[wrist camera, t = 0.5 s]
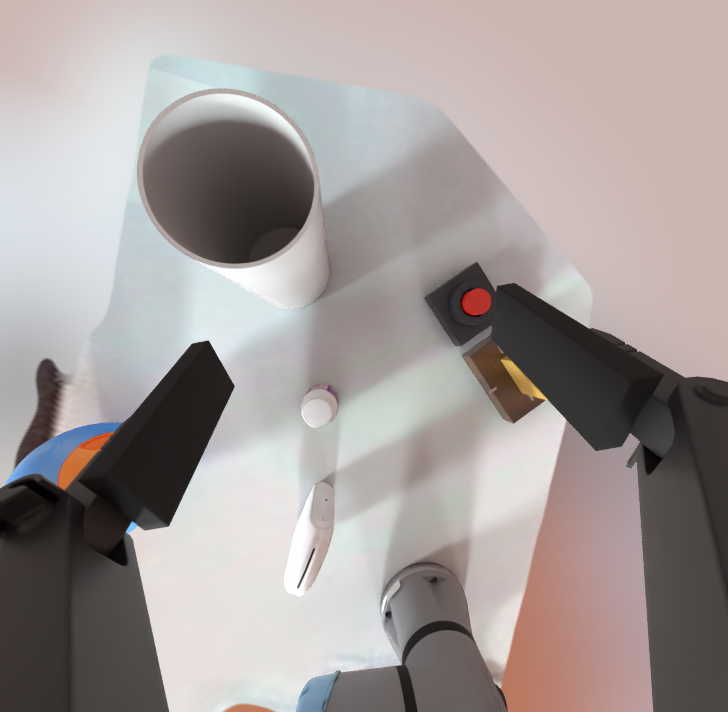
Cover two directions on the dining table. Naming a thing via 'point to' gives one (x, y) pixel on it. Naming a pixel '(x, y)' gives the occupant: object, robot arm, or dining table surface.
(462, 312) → the button box
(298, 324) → the dining table surface
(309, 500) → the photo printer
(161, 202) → the cylinder vase
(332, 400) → the pill bottle
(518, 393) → the panel
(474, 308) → the button
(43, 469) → the treat dispenser ball
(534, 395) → the lock handle
